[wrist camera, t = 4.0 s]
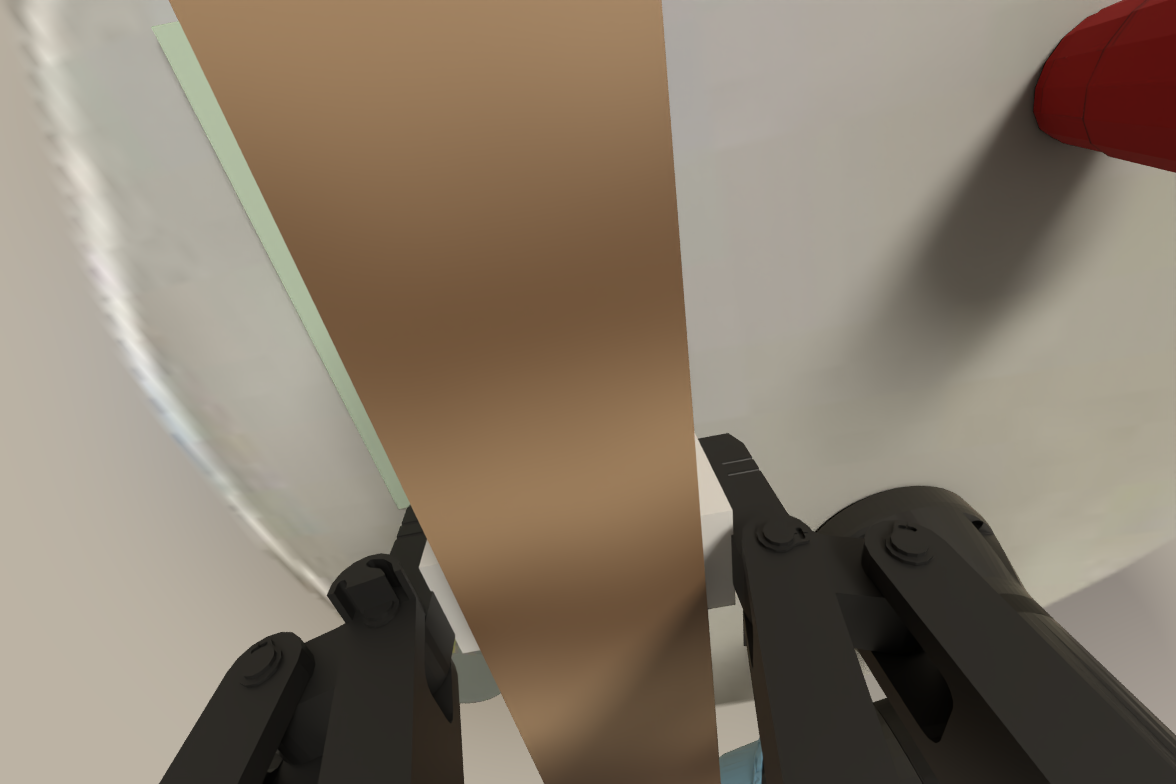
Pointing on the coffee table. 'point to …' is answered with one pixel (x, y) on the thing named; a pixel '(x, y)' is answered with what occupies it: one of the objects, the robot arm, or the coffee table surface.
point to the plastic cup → (1115, 84)
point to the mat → (270, 236)
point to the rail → (506, 330)
